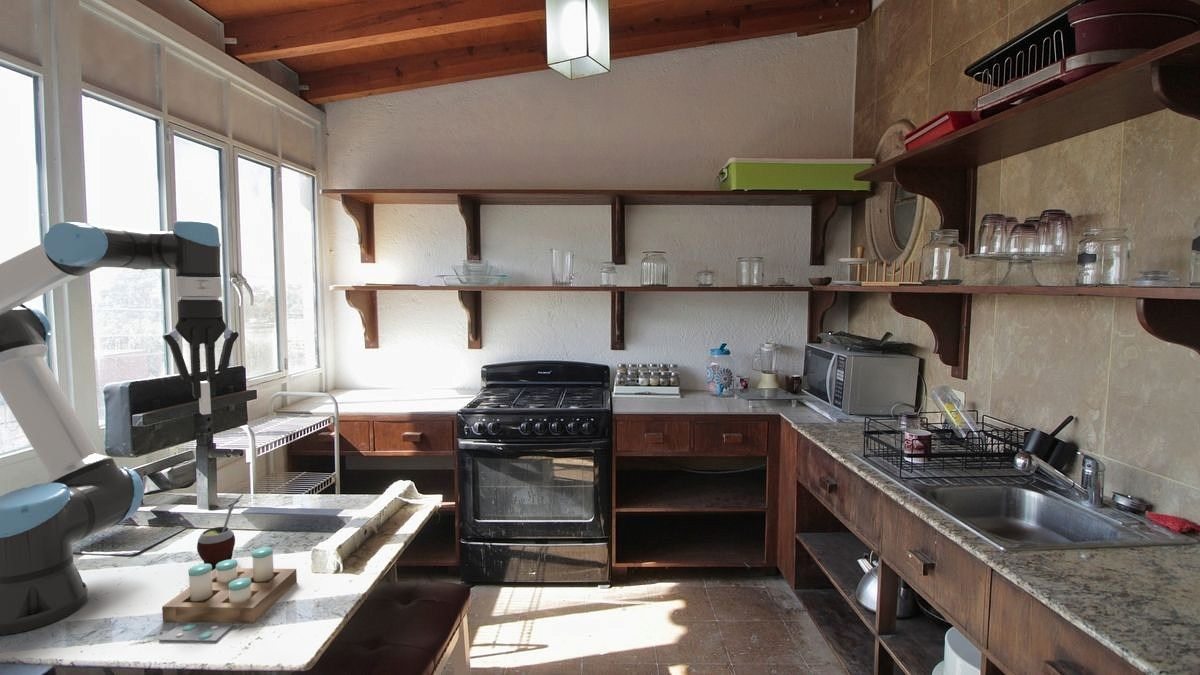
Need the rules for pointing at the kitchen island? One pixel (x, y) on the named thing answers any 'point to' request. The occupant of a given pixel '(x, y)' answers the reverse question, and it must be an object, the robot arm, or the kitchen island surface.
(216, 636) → the card
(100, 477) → the robot arm
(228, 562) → the button
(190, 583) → the button
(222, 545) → the mate gourd
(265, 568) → the button
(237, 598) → the button
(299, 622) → the kitchen island surface
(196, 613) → the board
